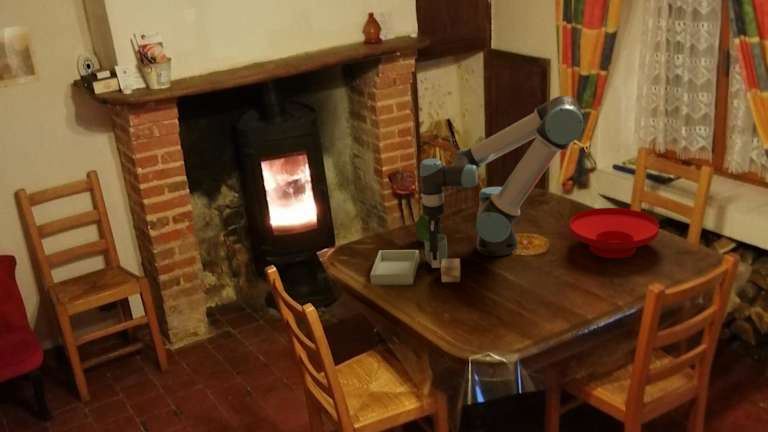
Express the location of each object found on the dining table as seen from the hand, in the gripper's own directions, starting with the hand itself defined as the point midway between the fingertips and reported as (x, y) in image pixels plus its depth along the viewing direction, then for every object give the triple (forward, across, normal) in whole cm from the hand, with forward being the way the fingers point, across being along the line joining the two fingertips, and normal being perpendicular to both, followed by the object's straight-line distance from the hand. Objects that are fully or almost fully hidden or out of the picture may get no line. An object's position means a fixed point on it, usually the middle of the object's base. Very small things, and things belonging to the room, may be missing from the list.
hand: (437, 261), depth 293 cm
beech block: (+1, +11, +6) cm, 13 cm away
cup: (+1, 0, 0) cm, 1 cm away
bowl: (+1, -11, +62) cm, 63 cm away
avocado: (+1, -19, -6) cm, 20 cm away
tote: (+1, +6, -14) cm, 15 cm away
